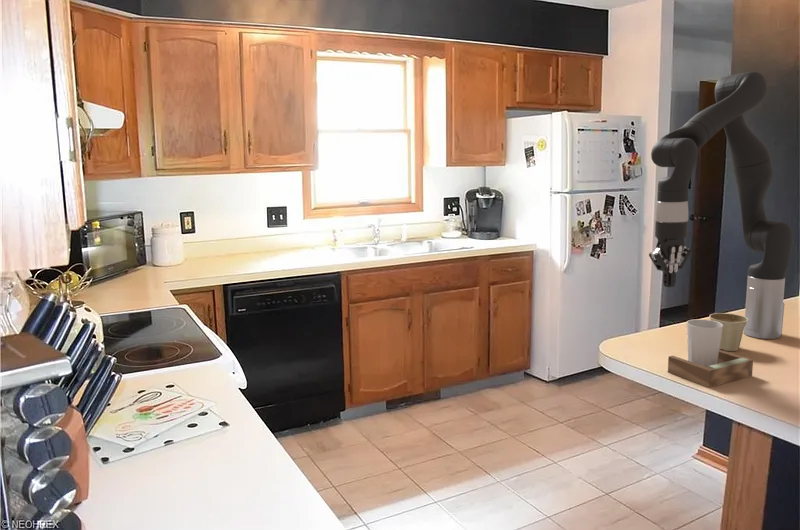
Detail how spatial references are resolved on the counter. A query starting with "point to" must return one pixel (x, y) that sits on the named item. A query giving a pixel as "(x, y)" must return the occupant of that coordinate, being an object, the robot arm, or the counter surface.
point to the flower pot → (730, 329)
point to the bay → (712, 369)
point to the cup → (703, 341)
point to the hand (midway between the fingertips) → (669, 286)
